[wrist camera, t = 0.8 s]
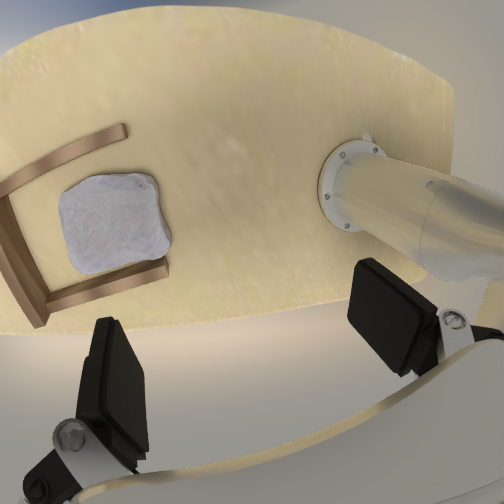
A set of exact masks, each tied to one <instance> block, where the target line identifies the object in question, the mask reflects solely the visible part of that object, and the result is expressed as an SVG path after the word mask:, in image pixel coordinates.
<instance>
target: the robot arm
mask: <svg viewBox="0 0 504 504" xmlns="http://www.w3.org/2000/svg"><path fill="white" fill-rule="evenodd" d="M318 195H319V202H320V206H321V209H322V211H323V213H324V215H325V216H326V218H327V219H328V220H329V221H330V222H331V223H332V224H333V225H334V226H336V227H338V228H339V229H341V230H343V231H347V232H359V231H362V230H365V231H367V232H368V233H370V234H372V235H373V236H375V237H376V238H378V239H380V240H381V241H383V242H384V243H386V244H388V245H389V246H391V247H392V248H394V249H395V250H397V251H399V252H400V253H402V254H403V255H405V256H406V257H408V258H409V259H411V260H412V261H414V262H415V263H417V264H418V265H420V266H421V267H422V268H424V269H425V270H427V271H429V272H430V273H432V274H433V275H434V276H436V277H438V278H439V279H442V280H444V281H448V282H463V281H467V280H470V279H473V278H476V277H485V278H487V280H488V285H487V289H486V292H485V294H484V297H483V301H482V303H481V305H480V307H479V309H478V312H477V314H476V316H475V318H474V320H473V322H472V324H471V325H470V323H469V321H468V319H467V317H466V316H465V315H464V314H463V313H462V312H460V311H458V310H455V309H444V310H442V311H441V312H440V314H439V316H437V315H436V312H437V310H438V308H437V307H436V306H435V305H434V304H432V303H431V302H430V301H429V300H427V299H426V298H425V297H424V296H422V295H421V294H420V293H419V292H417V291H416V290H415V289H413V288H412V287H411V286H409V285H408V284H407V283H406V282H404V281H403V280H402V279H400V278H399V277H398V276H396V275H395V274H394V273H392V272H391V271H390V270H388V269H387V268H386V267H384V266H383V265H381V264H380V263H379V262H377V261H376V260H375V259H373V258H366V259H362V260H359V261H358V262H357V265H356V266H355V268H354V275H353V282H352V289H351V295H350V302H349V308H348V314H347V318H348V320H349V322H350V324H351V325H352V326H353V327H354V328H355V329H356V330H357V332H358V333H359V334H360V335H361V336H362V337H363V338H364V339H365V340H366V341H367V343H368V344H369V345H370V346H371V347H372V349H373V350H374V351H375V352H376V353H377V354H378V355H379V357H380V358H381V359H382V360H383V361H384V362H385V363H386V364H387V366H388V367H389V368H390V369H391V370H392V371H393V372H394V373H397V374H398V375H399V376H400V377H403V376H404V375H406V374H408V373H409V372H410V371H411V369H412V370H413V371H414V381H413V382H412V383H410V384H409V385H407V386H406V387H404V388H402V389H401V390H399V391H397V392H396V393H394V394H392V395H391V396H389V397H387V398H385V399H384V400H382V401H380V402H379V403H376V404H374V405H373V406H371V407H369V408H367V409H365V410H363V411H361V412H359V413H357V414H355V415H353V416H351V417H349V418H347V419H345V420H343V421H341V422H339V423H336V424H334V425H332V426H330V427H327V428H325V429H323V430H320V431H318V432H315V433H313V434H310V435H307V436H305V437H302V438H300V439H297V440H294V441H291V442H288V443H285V444H282V445H280V446H277V447H274V448H270V449H267V450H264V451H260V452H257V453H253V454H249V455H246V456H242V457H238V458H234V459H229V460H225V461H220V462H216V463H210V464H206V465H200V466H194V467H188V468H182V469H175V470H167V471H159V472H151V473H143V474H142V473H141V472H140V471H139V470H137V469H136V467H137V460H146V454H145V452H149V442H148V432H147V420H146V405H145V384H144V383H145V382H144V372H143V369H142V367H141V365H140V363H139V361H138V359H137V357H136V355H135V353H134V351H133V349H132V347H131V345H130V343H129V341H128V339H127V337H126V335H125V333H124V331H123V328H122V326H121V324H120V322H119V320H114V318H113V317H105V318H99V319H97V321H96V325H95V329H94V333H93V338H92V342H91V346H90V351H89V356H87V357H86V358H85V361H84V365H83V370H82V375H81V381H80V388H79V394H78V401H77V409H76V418H69V419H65V420H63V421H62V422H60V423H59V424H58V425H57V426H56V428H55V430H54V432H53V437H52V440H53V445H54V449H53V450H52V451H51V452H50V453H49V454H48V455H47V456H46V457H45V458H44V459H42V460H41V461H40V462H39V463H38V464H37V465H36V466H35V467H34V468H33V469H32V470H31V471H29V472H28V474H27V475H26V476H25V478H24V480H23V491H24V494H25V498H22V497H21V498H20V500H19V502H18V504H504V194H502V193H499V192H496V191H493V190H491V189H487V188H485V187H482V186H479V185H477V184H474V183H471V182H469V181H466V180H463V179H460V178H457V177H454V176H451V175H448V174H445V173H442V172H439V171H436V170H432V169H429V168H426V167H422V166H419V165H415V164H412V163H408V162H404V161H400V160H396V159H392V158H388V156H387V155H386V153H385V152H384V151H383V150H382V149H381V148H380V147H379V146H378V145H376V144H374V143H372V142H369V141H364V140H353V141H349V142H346V143H344V144H342V145H341V146H339V147H338V148H336V149H335V150H334V151H333V152H332V153H331V154H330V156H329V157H328V159H327V160H326V162H325V164H324V166H323V168H322V171H321V174H320V178H319V186H318Z"/></svg>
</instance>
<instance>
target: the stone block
mask: <svg viewBox="0 0 504 504" xmlns="http://www.w3.org/2000/svg"><path fill="white" fill-rule="evenodd" d="M58 209H59V215H60V218H61V219H60V220H61V226H62V230H63V234H64V238H65V241H66V243H67V250H68V256H69V260H70V262H71V264H72V266H73V267H74V268H75V269H77V270H79V272H80V273H83V274H94V273H99V272H102V271H106V270H110V269H113V268H116V267H119V266H121V265H124V264H127V263H130V262H135V261H141V260H154V259H158V258H161V257H162V256H164V255H165V254H166V253H167V252H168V250H169V248H170V246H171V245H172V240H171V233H170V230H169V228H168V226H167V224H166V222H165V221H164V218H163V216H162V214H161V210H160V207H159V188H158V185H157V183H156V182H155V180H154V179H153V178H152V177H151V176H149V175H145V174H142V173H129V174H110V175H99V176H91V177H88V178H87V179H85V180H84V181H82V182H81V183H79V184H76V185H75V186H74V187H73V188H71V189H69V190H67V191H65V192H63V193H62V195H61V196H60V200H59V207H58Z"/></svg>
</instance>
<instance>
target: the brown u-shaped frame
mask: <svg viewBox="0 0 504 504" xmlns="http://www.w3.org/2000/svg"><path fill="white" fill-rule="evenodd" d="M125 138H128V136H127V131H126V127H125V124H121V123H120V124H117V125H115V126H112V127H110V128H107V129H104V130H102V131H99V132H97V133H94V134H92V135H90V136H87V137H85V138H83V139H81V140H78V141H76V142H74V143H72V144H70V145H68V146H65V147H63V148H61V149H59V150H57V151H55V152H53V153H51V154H49V155H47V156H46V157H44V158H42V159H40V160H38V161H36V162H35V163H33V164H31V165H29V166H28V167H26V168H24V169H22V170H21V171H19V172H17V173H16V174H14V175H13V176H11V177H9V178H8V179H6V180H5V181H3V182H2V183H0V271H1V273H2V275H3V277H4V279H5V281H6V283H7V284H8V286H9V288H10V290H11V292H12V293H13V295H14V297H15V299H16V300H17V302H18V304H19V305H20V307H21V309H22V310H23V312H24V313H25V315H26V316H27V318H28V320H29V321H30V323H31V324H32V325H33V327H34V328H35V329H36V328H39V327H43V326H45V325H46V323H47V320H48V318H49V316H50V314H51V313H54V312H57V311H60V310H63V309H67V308H70V307H73V306H76V305H80V304H83V303H86V302H89V301H92V300H96V299H99V298H102V297H105V296H109V295H112V294H115V293H118V292H122V291H125V290H128V289H131V288H135V287H138V286H141V285H144V284H147V283H151V282H154V281H157V280H160V279H164V278H167V277H169V266H168V263H167V261H166V258H165V255H164V256H162V257H161V258H158V259H154V260H149V261H145V262H142V263H139V264H136V265H133V266H130V267H127V268H124V269H121V270H118V271H115V272H111V273H108V274H105V275H102V276H99V277H96V278H93V279H90V280H87V281H85V282H82V283H79V284H76V285H73V286H70V287H67V288H64V289H61V290H58V291H55V292H53V293H50V291H49V289H48V287H47V285H46V284H45V282H44V280H43V278H42V276H41V274H40V272H39V270H38V268H37V266H36V264H35V262H34V260H33V258H32V256H31V254H30V252H29V249H28V247H27V245H26V243H25V240H24V238H23V236H22V233H21V231H20V228H19V226H18V223H17V221H16V218H15V215H14V212H13V210H12V207H11V204H10V201H9V198H8V194H9V193H11V192H12V191H14V190H16V189H17V188H19V187H21V186H23V185H24V184H26V183H28V182H30V181H31V180H33V179H35V178H37V177H39V176H41V175H43V174H44V173H46V172H48V171H50V170H52V169H54V168H56V167H58V166H60V165H62V164H65V163H67V162H69V161H71V160H73V159H75V158H78V157H80V156H82V155H84V154H87V153H89V152H91V151H94V150H96V149H99V148H101V147H104V146H106V145H109V144H111V143H114V142H117V141H119V140H122V139H125Z"/></svg>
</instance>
